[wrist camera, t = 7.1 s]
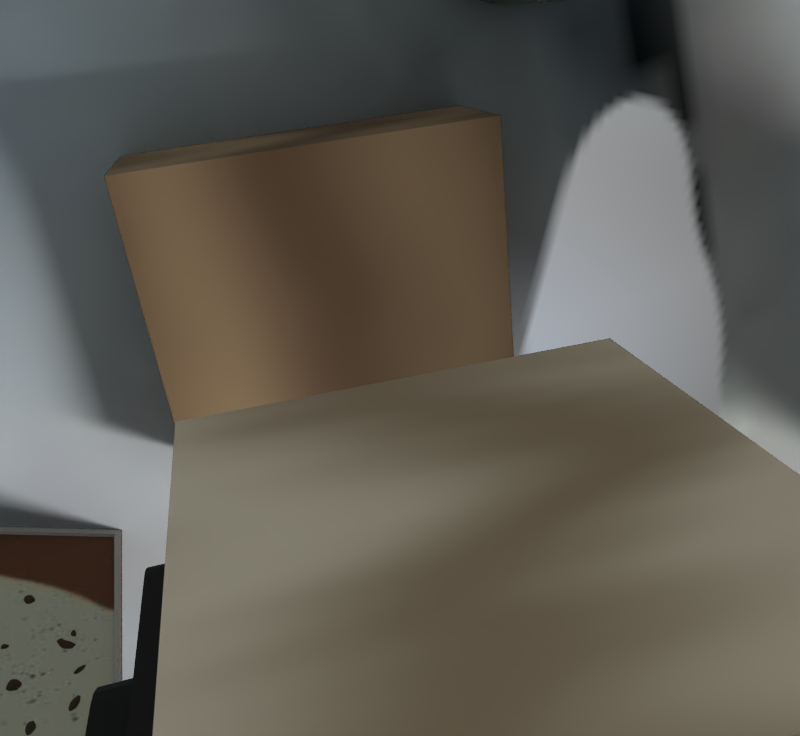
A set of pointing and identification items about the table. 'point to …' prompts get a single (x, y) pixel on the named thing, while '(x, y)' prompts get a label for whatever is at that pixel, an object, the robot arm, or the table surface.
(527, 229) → the table surface
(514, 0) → the coffee jar
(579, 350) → the beech cube
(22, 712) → the food container
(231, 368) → the pedestal
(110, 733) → the robot arm
